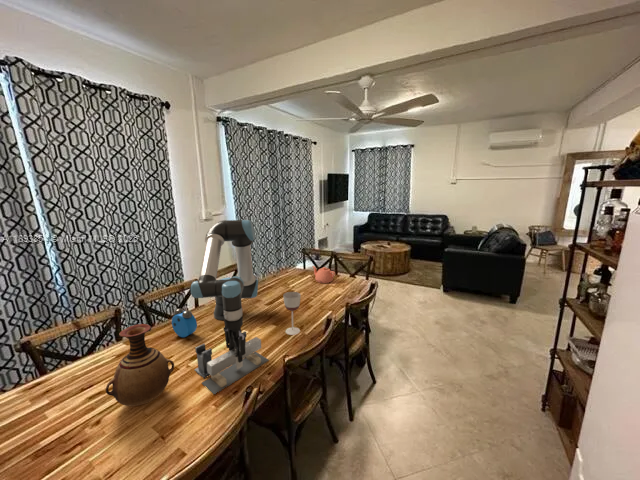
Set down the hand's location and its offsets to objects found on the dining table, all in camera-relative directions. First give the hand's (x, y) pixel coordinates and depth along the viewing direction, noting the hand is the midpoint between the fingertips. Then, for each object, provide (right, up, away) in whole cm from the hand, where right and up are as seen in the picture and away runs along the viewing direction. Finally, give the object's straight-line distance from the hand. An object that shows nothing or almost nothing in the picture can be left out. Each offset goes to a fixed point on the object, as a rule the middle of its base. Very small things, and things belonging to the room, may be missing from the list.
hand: (236, 365), depth 122 cm
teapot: (+40, +20, +113) cm, 122 cm away
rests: (0, -3, +1) cm, 3 cm away
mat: (0, -3, +1) cm, 3 cm away
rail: (0, +3, -1) cm, 3 cm away
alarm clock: (-38, +3, +30) cm, 48 cm away
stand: (-9, -2, +7) cm, 11 cm away
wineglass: (+22, +4, +34) cm, 40 cm away
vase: (-31, -7, -15) cm, 35 cm away
